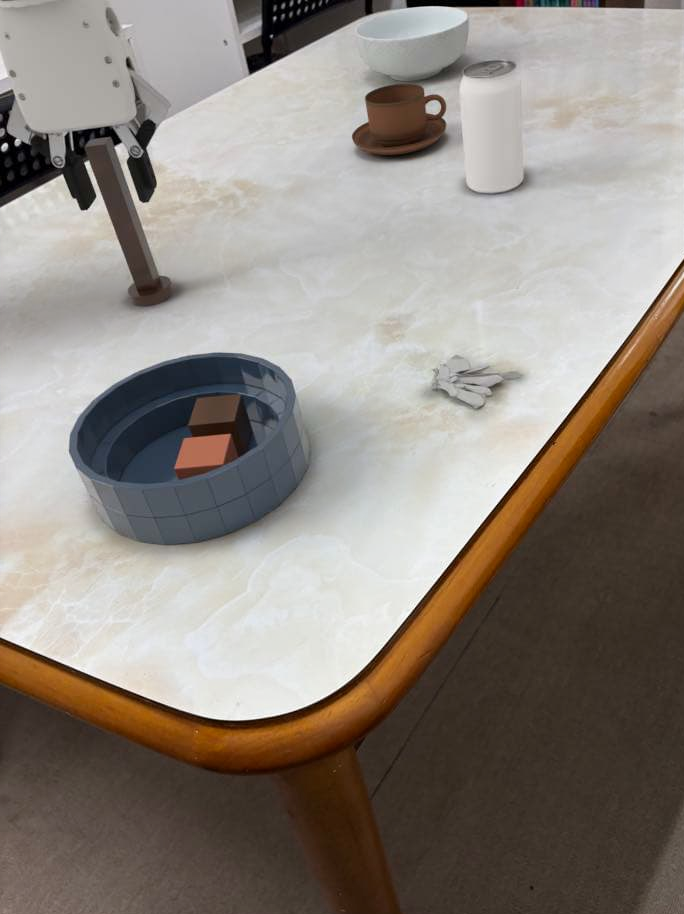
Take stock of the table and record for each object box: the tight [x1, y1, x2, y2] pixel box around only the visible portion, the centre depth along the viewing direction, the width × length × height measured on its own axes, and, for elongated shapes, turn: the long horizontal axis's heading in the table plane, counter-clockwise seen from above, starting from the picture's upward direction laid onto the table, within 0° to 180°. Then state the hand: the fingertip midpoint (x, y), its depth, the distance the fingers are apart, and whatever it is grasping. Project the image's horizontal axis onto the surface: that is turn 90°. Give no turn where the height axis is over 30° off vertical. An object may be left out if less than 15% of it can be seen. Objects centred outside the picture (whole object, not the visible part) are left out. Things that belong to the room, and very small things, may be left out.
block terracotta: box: [174, 434, 239, 480], centre depth 61 cm, size 4×4×4 cm
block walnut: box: [188, 394, 253, 457], centre depth 65 cm, size 4×4×4 cm
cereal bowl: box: [354, 5, 470, 82], centre depth 128 cm, size 17×17×7 cm
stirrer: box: [83, 136, 175, 308], centre depth 82 cm, size 4×4×15 cm
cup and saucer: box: [351, 83, 447, 156], centre depth 107 cm, size 12×12×6 cm
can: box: [459, 58, 525, 195], centre depth 93 cm, size 6×6×12 cm
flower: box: [430, 354, 524, 409], centre depth 68 cm, size 8×8×3 cm
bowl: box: [68, 351, 311, 546], centre depth 63 cm, size 16×16×6 cm
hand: (117, 198), depth 80 cm, fingers open, 5 cm apart
